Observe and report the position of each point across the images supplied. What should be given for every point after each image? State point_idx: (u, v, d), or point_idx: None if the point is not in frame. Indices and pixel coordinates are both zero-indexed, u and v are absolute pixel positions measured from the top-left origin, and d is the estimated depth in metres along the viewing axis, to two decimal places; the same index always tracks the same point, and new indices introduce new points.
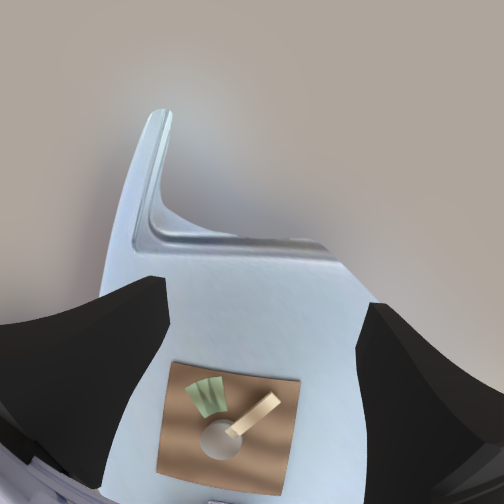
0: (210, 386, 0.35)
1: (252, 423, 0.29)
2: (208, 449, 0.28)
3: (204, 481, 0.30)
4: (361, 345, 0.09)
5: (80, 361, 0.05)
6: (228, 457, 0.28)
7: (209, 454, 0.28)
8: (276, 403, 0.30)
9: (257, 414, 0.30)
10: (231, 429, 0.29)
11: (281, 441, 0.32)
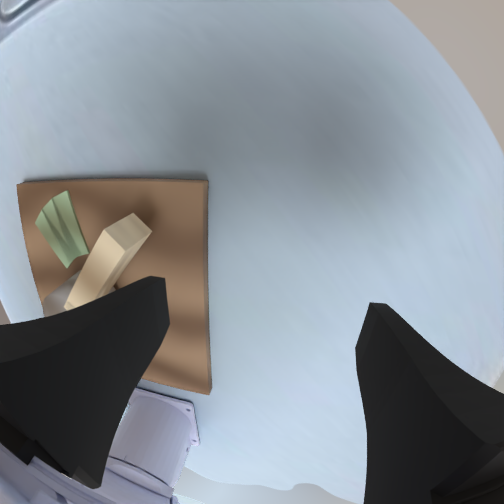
0: (58, 212, 0.18)
1: (92, 295, 0.15)
2: None
3: None
4: (361, 345, 0.09)
5: (80, 361, 0.05)
6: None
7: None
8: (118, 253, 0.13)
9: (93, 278, 0.14)
10: (70, 304, 0.15)
11: (185, 310, 0.19)
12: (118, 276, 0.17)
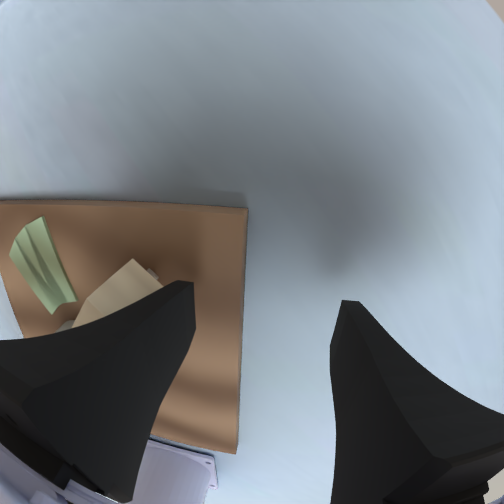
0: (34, 244, 0.13)
1: None
2: None
3: None
4: (334, 343, 0.09)
5: (117, 375, 0.05)
6: None
7: None
8: None
9: None
10: None
11: (212, 378, 0.14)
12: None
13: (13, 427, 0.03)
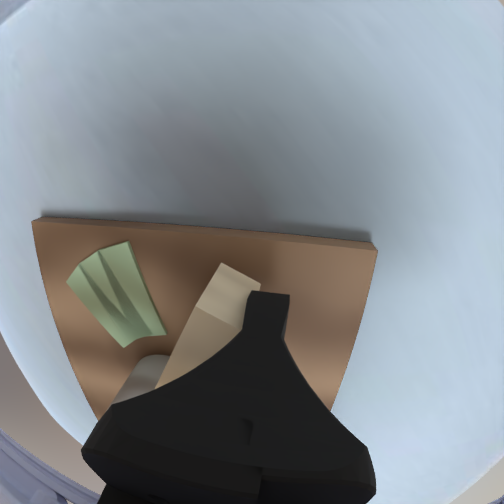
0: (110, 273, 0.13)
1: None
2: None
3: None
4: None
5: None
6: None
7: None
8: None
9: None
10: None
11: None
12: None
13: (142, 500, 0.03)
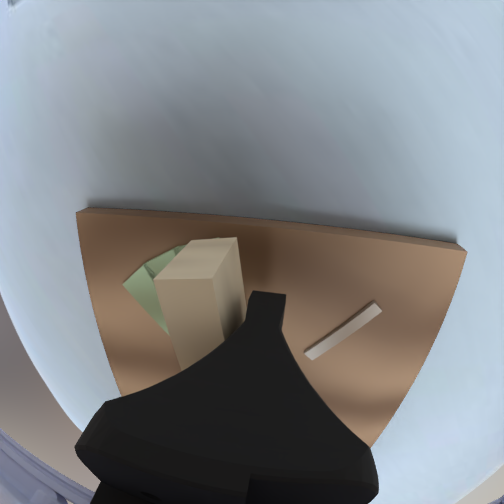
0: None
1: None
2: None
3: None
4: None
5: None
6: None
7: None
8: (206, 295, 0.07)
9: None
10: None
11: (385, 395, 0.13)
12: None
13: (135, 497, 0.03)
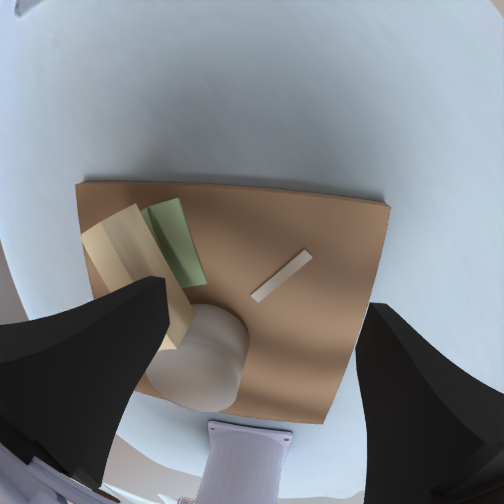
0: (157, 227, 0.15)
1: None
2: (204, 404, 0.14)
3: None
4: (361, 345, 0.09)
5: (80, 361, 0.05)
6: (231, 387, 0.13)
7: (216, 408, 0.14)
8: (101, 233, 0.11)
9: None
10: (157, 353, 0.13)
11: (333, 345, 0.17)
12: (171, 278, 0.14)
13: None
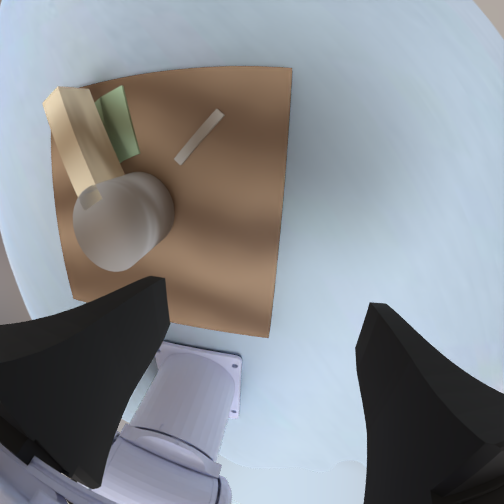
0: (105, 111, 0.15)
1: (76, 148, 0.12)
2: (119, 259, 0.14)
3: None
4: (361, 345, 0.09)
5: (80, 361, 0.05)
6: (138, 223, 0.13)
7: (129, 262, 0.14)
8: (57, 94, 0.11)
9: (65, 135, 0.12)
10: (81, 195, 0.13)
11: (258, 214, 0.17)
12: (106, 140, 0.15)
13: None
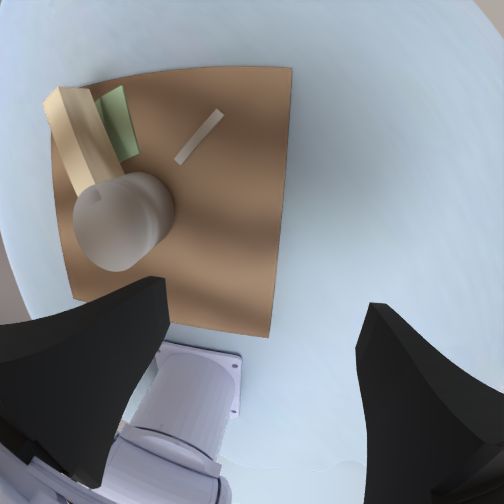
0: (105, 111, 0.15)
1: (76, 148, 0.12)
2: (119, 259, 0.14)
3: None
4: (361, 345, 0.09)
5: (80, 361, 0.05)
6: (138, 223, 0.13)
7: (129, 262, 0.14)
8: (57, 94, 0.11)
9: (65, 135, 0.12)
10: (81, 195, 0.13)
11: (258, 214, 0.17)
12: (106, 140, 0.15)
13: None
